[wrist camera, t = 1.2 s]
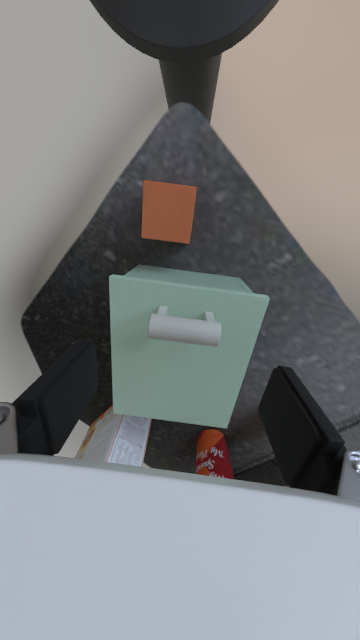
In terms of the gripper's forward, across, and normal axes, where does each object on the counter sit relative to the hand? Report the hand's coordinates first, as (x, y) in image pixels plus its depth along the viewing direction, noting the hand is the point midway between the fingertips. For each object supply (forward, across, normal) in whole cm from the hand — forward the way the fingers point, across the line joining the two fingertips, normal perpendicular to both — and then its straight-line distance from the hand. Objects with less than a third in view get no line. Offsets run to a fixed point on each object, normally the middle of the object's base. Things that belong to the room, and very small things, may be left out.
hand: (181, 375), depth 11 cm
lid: (+9, 0, +6) cm, 10 cm away
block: (+19, +3, -8) cm, 21 cm away
